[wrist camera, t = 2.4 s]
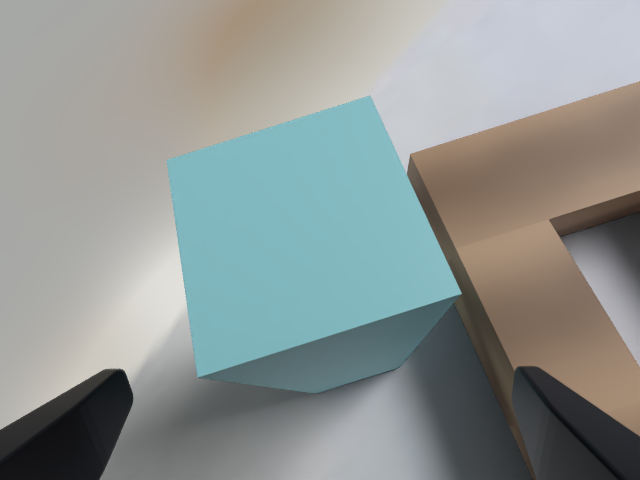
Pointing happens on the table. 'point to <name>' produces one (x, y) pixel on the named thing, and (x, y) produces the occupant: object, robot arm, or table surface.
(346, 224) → the teal peg
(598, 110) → the walnut socket block
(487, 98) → the table surface
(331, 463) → the table surface
